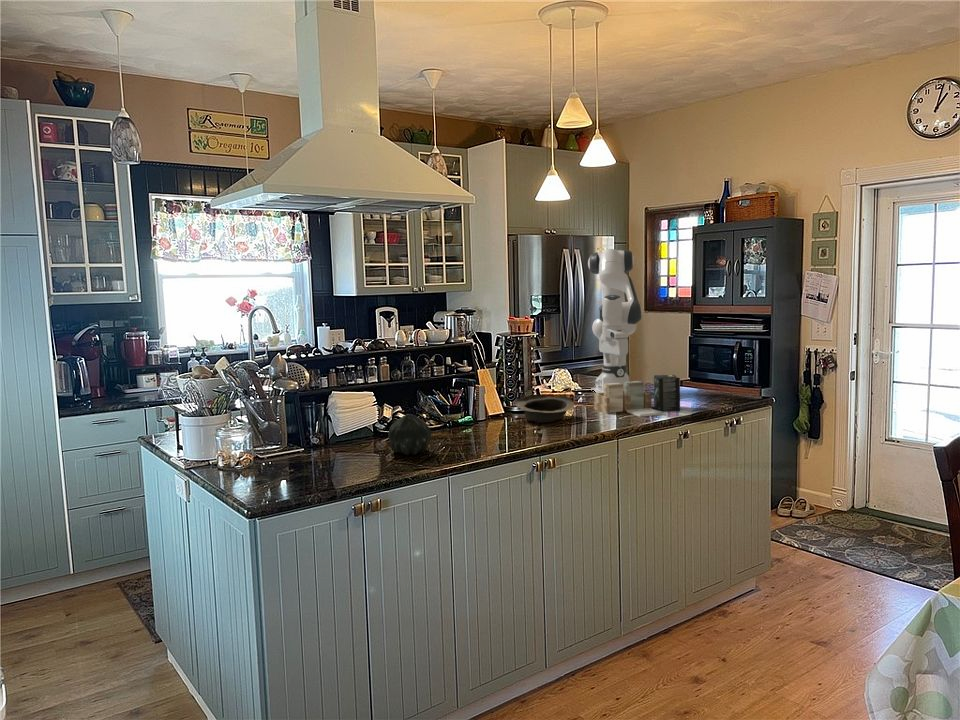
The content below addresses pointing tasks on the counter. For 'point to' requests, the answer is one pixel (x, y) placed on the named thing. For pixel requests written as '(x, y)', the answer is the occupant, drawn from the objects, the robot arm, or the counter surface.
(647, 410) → the tile
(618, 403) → the block
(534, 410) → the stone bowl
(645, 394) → the shelf
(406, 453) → the squash
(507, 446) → the counter surface
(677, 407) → the tampon box
